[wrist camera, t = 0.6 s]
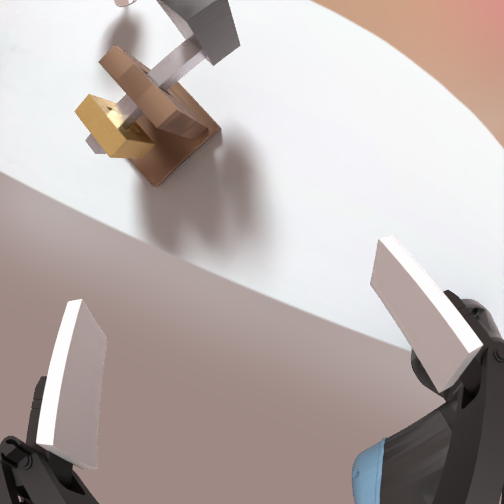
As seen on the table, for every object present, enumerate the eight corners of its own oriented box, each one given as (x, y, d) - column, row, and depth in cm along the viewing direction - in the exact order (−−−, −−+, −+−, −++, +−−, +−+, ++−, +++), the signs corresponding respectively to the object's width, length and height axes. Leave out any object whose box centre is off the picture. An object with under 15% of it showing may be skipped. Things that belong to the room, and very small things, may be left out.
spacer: (122, 105, 26) (89, 93, 20) (155, 144, 27) (126, 139, 21) (109, 119, 26) (74, 111, 20) (141, 158, 27) (110, 157, 21)
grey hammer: (212, 20, 21) (187, -33, 12) (240, 45, 21) (225, -7, 13) (90, 134, 24) (27, 127, 15) (112, 162, 25) (50, 164, 16)
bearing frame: (168, 72, 30) (120, 32, 18) (221, 128, 32) (191, 105, 19) (111, 129, 32) (45, 119, 20) (158, 186, 34) (102, 197, 22)
